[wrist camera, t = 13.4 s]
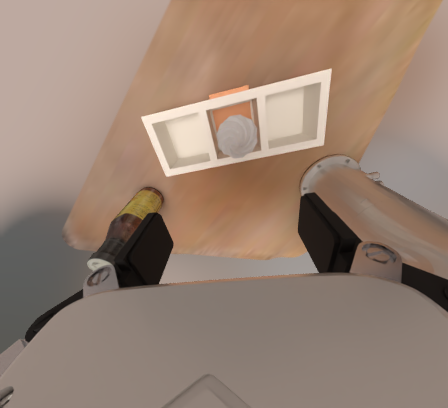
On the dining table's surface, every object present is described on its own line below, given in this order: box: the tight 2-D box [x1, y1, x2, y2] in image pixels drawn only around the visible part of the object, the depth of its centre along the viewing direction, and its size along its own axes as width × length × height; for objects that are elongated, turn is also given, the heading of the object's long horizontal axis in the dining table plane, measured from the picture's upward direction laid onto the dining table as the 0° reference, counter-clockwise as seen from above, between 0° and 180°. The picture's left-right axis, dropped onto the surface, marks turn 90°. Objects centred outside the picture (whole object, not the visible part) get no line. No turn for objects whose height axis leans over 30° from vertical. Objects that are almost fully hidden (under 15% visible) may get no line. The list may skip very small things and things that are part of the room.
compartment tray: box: [141, 68, 332, 177], centre depth 29 cm, size 28×11×7 cm, turn 102°
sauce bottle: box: [87, 188, 163, 271], centre depth 33 cm, size 6×6×20 cm
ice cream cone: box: [217, 115, 257, 158], centre depth 25 cm, size 6×6×15 cm
